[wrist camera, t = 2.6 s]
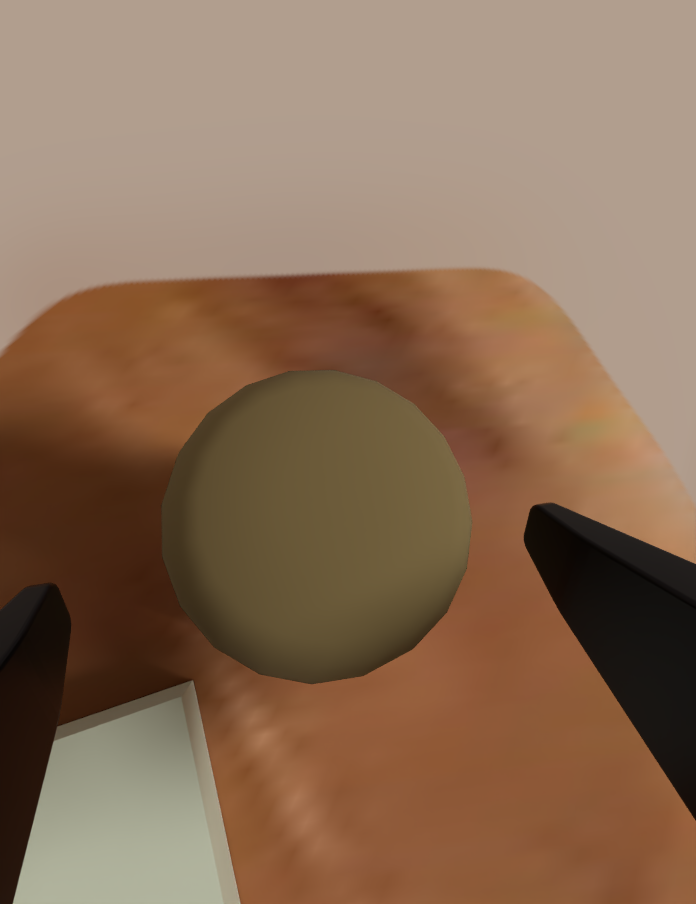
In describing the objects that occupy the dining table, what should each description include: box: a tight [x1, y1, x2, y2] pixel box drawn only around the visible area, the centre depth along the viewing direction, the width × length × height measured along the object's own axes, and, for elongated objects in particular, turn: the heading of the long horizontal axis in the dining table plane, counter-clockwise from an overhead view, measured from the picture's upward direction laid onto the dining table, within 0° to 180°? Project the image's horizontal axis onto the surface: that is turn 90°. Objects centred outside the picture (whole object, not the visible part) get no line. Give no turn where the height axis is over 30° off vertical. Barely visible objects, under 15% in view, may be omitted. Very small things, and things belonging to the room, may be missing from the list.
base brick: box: [13, 680, 240, 904], centre depth 12 cm, size 8×8×2 cm
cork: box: [161, 370, 472, 684], centre depth 12 cm, size 6×6×11 cm
